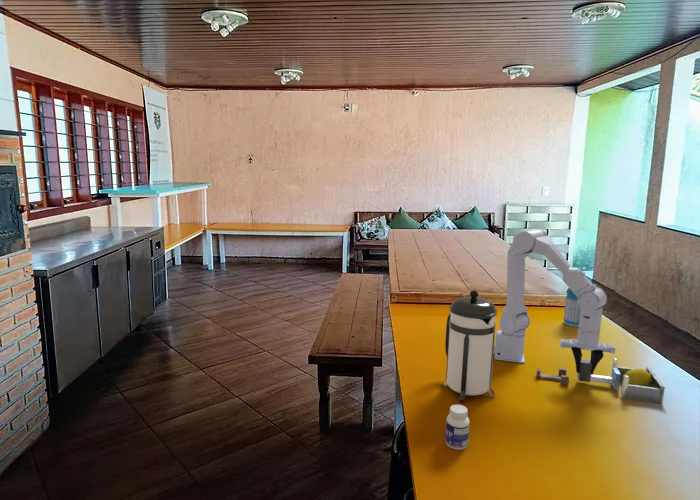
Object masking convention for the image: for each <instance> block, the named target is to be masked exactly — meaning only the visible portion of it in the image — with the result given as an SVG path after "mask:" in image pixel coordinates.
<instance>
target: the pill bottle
mask: <svg viewBox="0 0 700 500" xmlns="http://www.w3.org/2000/svg"><path fill="white" fill-rule="evenodd" d="M449 407H450V408H449V414H448V415H446V421H445V441H444V442H445V444H446V446H448V447H449V448H450V449H453V450H465V449H467V447H468V445H469V438H470V437H469V435H470V419H469V416H468V412H469V411H468V408H467V407H466V406H464V405H462V404H452V405H451V406H449Z"/></svg>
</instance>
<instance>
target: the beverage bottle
mask: <svg viewBox="0 0 700 500" xmlns="http://www.w3.org/2000/svg"><path fill="white" fill-rule="evenodd" d="M586 277H587V278H588V279H589V277H588V276H586ZM578 299H579V298H578V297H577V296H576V295H575V294H574V293H573V292H572V291H571V289H570V288H569V287H568V288H567V290H566V296H565V304H564V305H565V306H564V316H563V323H564V324H565V325H567V326H570V327H575V328H579V319H580V311H581V307H580V306H579V304H578Z"/></svg>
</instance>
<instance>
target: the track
mask: <svg viewBox="0 0 700 500" xmlns="http://www.w3.org/2000/svg"><path fill="white" fill-rule="evenodd" d="M567 371H568V370H567V369H566V368H562V367H558V375H556V374H555V375H554V374H547V373H541V368H539V367H538V368H536V379H538V380H547V381H555V382H560V385H562V386H569V383H570V376H569V375H567Z"/></svg>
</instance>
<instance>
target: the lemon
mask: <svg viewBox="0 0 700 500" xmlns="http://www.w3.org/2000/svg"><path fill="white" fill-rule="evenodd" d="M625 375H627V376H629V383H628V384H630V385H637V386H645V387H647V385H648V384H649V383H650V381H651V374H650V373H648V372H647V371H646V369H643V368H633V369H632V370H630V371H628V372H626V373H625ZM622 383H623V381H622ZM622 383H621V384H622Z"/></svg>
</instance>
